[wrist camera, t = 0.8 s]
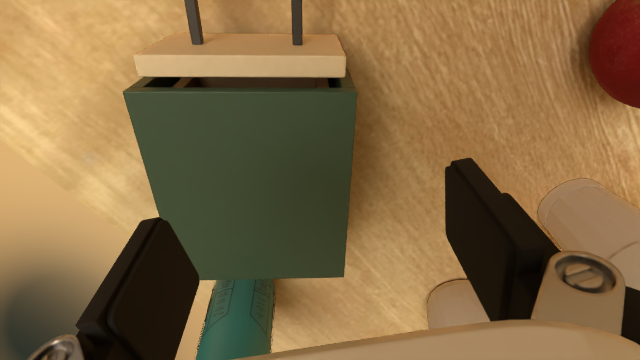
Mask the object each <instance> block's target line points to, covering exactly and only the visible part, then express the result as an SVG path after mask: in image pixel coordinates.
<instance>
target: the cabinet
mask: <svg viewBox="0 0 640 360" xmlns="http://www.w3.org/2000/svg"><path fill="white" fill-rule="evenodd" d="M181 78H182V77H143V78H142V79H140V80H139V81H138V82H136V83H135V84H133V85H132V86H130V87H129V88H127V89H126V90H124V91H123V95H124V98H125V102H126V105H127V108H128V112H129V115H130V119H131V122H132V125H133V129H134V132H135V135H136V139H137V142H138V146H139V149H140V152H141V156H142V159H143V162H144V166H145V169H146V173H147V176H148V179H149V183H150V186H151V189H152V193H153V196H154V200H155V203H156V206H157V210H158V213H159V216H160V218H162V219H163V220H167V221H168V222H169V223H170V225H171V227H172V228H173V230H174V232H175V234H176V235H177V237H178V239H179V241H180V242H181V244H182V246H183V248H184V249H185V251H186V253H187V255H188V256H189V258H190V260H191V262H192V263H193V265H194V267H195V269H196V270H197V272H198V274H199V280H236V279H285V278H334V277H344V267H345V254H346V240H347V226H348V213H349V199H350V186H351V172H352V158H353V145H354V131H355V117H356V104H357V91H356V88H355V86H354V83H353V81H352V78H351V76H350V74H349V71H348V69H347V66H346V73H345V77H344V78H327V79H328V84H329V88H178V87H172V86H173V85H175V84H176V83H177V82H178V81H179V80H180V79H181Z"/></svg>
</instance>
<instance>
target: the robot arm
mask: <svg viewBox="0 0 640 360" xmlns="http://www.w3.org/2000/svg"><path fill="white" fill-rule="evenodd" d="M445 225H446V235H447V239H448V241H449V243H450V245H451V247H452V249H453V251H454V253H455V255H456V256H457V258H458V260H459V262H460V264H461V266H462V268H463V270H464V272H465V274H466V276H467V278H468V280H469V281H470V283H471V285H472V287H473V289H474V291H475V293H476V295H477V297H478V299H479V301H480V303H481V305H482V307H483V308H484V310H485V312H486V314H487V316H488V318H489V320H490V322H480V323H472V324H465V325H457V326H450V327H442V328H435V329H427V330H420V331H414V332H407V333H400V334H394V335H387V336H380V337H374V338H367V339H361V340H354V341H347V342H341V343H334V344H328V345H321V346H315V347H308V348H302V349H295V350H289V351H283V352H276V353H270V354H264V355H257V356H251V357H245V358H238V359H232V360H640V290H637V289H634V288H631V287H628V286H626V284H625V279H624V276H623V275H622V273H621V272H620V270H619V269H618V268H617V267H615V266H614V265H613V264H612V263H611V262H609V261H607V260H605V259H604V258H602V257H600V256H597V255H594V254H591V253H588V252H583V251H563V252H561V251H560V250H559V249H558V248H557V247H556V246H555V245H554V243H553V242H552V241H551V240H550V239H549V238H548V237H547V236H546V234H545V233H544V232H543V231H542V230H541V229H540V228H539V227H538V225H537V224H536V223H535V222H534V221H533V220H532V219H531V218H530V216H529V215H528V214H527V213H526V212H525V211H524V210H523V209H522V207H521V206H520V205H519V204H518V203H517V202H516V201H515V200H514V198H513V197H512V196H511V195H509V194H508V193H501V192H500V191H499V190H498V189H497V187H496V186H495V185H494V184H493V183H492V182H491V180H490V179H489V178H488V177H487V176H486V175H485V173H484V172H483V171H482V170H481V169H480V168H479V166H478V165H477V164H476V163H475V162H474V161H473V159H471V158H466V159H460V160H455V161H452V162H451V165H450V166H448V167H446V169H445ZM198 286H199V274H198V272H197V270H196V269H195V267H194V265H193V263H192V262H191V260H190V258H189V256H188V255H187V253H186V251H185V249H184V248H183V246H182V244H181V242H180V241H179V239H178V237H177V235H176V234H175V232H174V230H173V228H172V227H171V225H170V223H169V222H168V221H167V220H163V219H162V218H160V217H157V218H152V219H147V220H143V221H141V222H140V223H139V225H138V227H137V228H136V230H135V231H134V233H133V235H132V236H131V238H130V239H129V241H128V243H127V244H126V246H125V247H124V249H123V250H122V252H121V254H120V255H119V257H118V258H117V260H116V262H115V263H114V265H113V267H112V268H111V270H110V271H109V273H108V274H107V276H106V278H105V279H104V281H103V282H102V284H101V285H100V287H99V289H98V290H97V292H96V293H95V295H94V297H93V298H92V300H91V301H90V303H89V305H88V306H87V308H86V309H85V311H84V312H83V314H82V316H81V317H80V319H79V320H78V322H77V324H76V327H77V328H78V329H79V332H78V334H77V335H76V336H74V335H63V336H60V337H57V338H55V339H53V340H51V341H49V342H47V343H46V344H44V345H43V346H42V347H40V348H39V349H37V350H36V351H35V352H34V353H33V354H32V355H31V356H30V357H29V358H28V359H27V360H175V357H176V353H177V350H178V347H179V344H180V341H181V338H182V335H183V332H184V329H185V326H186V323H187V320H188V316H189V314H190V310H191V307H192V304H193V301H194V298H195V295H196V292H197V289H198Z"/></svg>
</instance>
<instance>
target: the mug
mask: <svg viewBox="0 0 640 360" xmlns="http://www.w3.org/2000/svg"><path fill="white" fill-rule="evenodd" d="M427 318H428V327H429V329H435V328H442V327H450V326H457V325H465V324H472V323H480V322H490V320H489V318H488V316H487V314H486V312H485V310H484V308H483V307H482V305H481V303H480V301H479V299H478V297H477V295H476V293H475V291H474V289H473V287H472V285H471V283H470V281H469V280H454V281H450V282H446V283H444V284H442V285H440V286H438V287H437V288H436V289H435V290H434V291H433V292H432V293H431V295H430V297H429V299H428V305H427Z"/></svg>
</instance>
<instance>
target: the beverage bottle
mask: <svg viewBox="0 0 640 360" xmlns="http://www.w3.org/2000/svg"><path fill="white" fill-rule="evenodd" d="M215 283H216V284H215V286H214V285H213V286H214V287H215V288H213V289H212V294H211V297H212V298H210V302H209V305H208V309H207V315H206V318H205V326H204V330H203V333H202V337H201V340H200V343H199V344H200V345H199V346H198V347H199V349H197V350H198V353H197V356H196V360H232V359H238V358H245V357H251V356H257V355H264V354H270V353H271V352H270V350H271V345H272V344H271V341H272V340H271V338H272V337H271V333H272V328H273V327H272V326H273V325H272V322H273V319H274V318H273V309H274V312H275V305H274V304H275V303H274V300H275V299H276V298H275V299H274V294H275V293H276V292H275V293H274V291H275V288H276V287H274V285H275V284H274V283H273V280H272V279H236V280H217V281H216V282H215ZM275 295H276V294H275ZM202 329H203V328H202ZM201 332H202V331H201ZM272 335H273V334H272ZM272 342H273V341H272Z"/></svg>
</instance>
